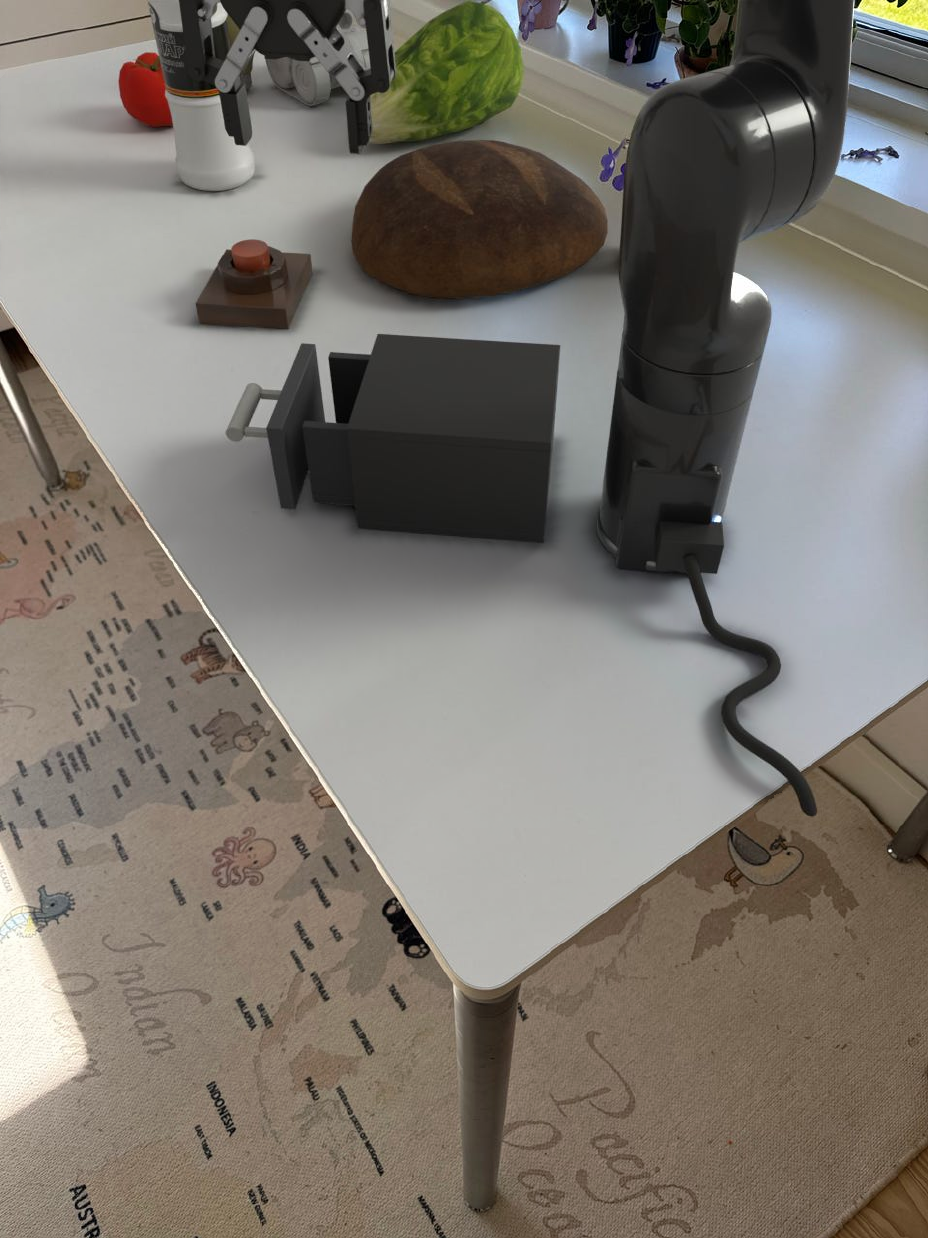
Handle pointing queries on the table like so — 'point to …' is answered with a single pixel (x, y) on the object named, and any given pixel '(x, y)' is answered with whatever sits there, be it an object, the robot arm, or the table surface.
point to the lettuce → (450, 76)
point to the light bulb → (233, 34)
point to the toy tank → (316, 68)
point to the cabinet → (454, 437)
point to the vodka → (198, 106)
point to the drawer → (307, 427)
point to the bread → (475, 220)
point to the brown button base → (255, 292)
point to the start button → (250, 255)
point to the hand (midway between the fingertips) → (301, 145)
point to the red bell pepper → (145, 91)
